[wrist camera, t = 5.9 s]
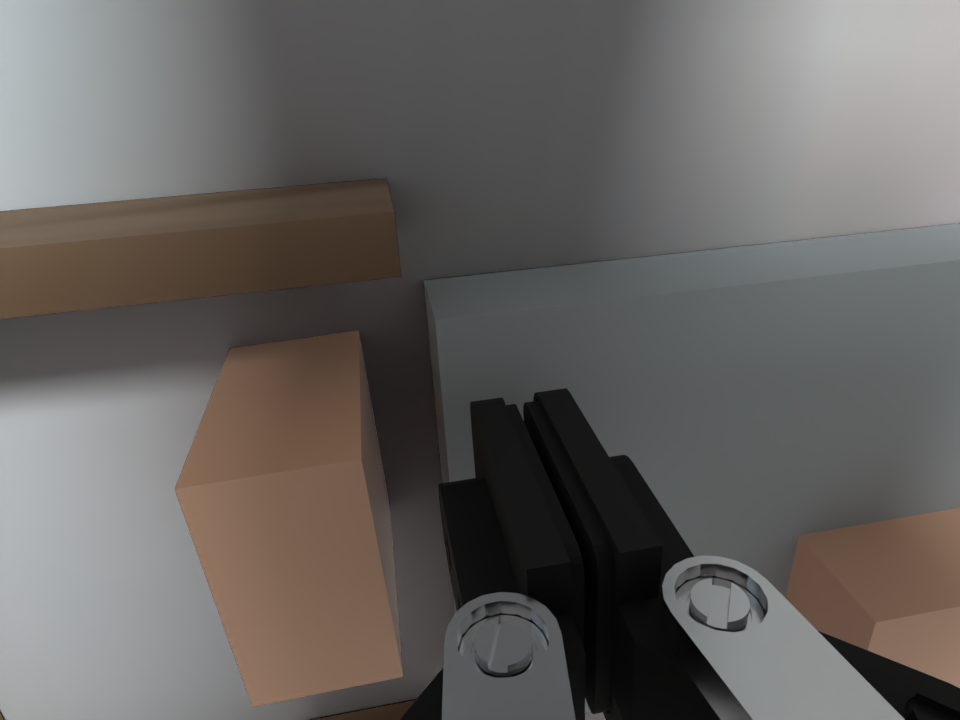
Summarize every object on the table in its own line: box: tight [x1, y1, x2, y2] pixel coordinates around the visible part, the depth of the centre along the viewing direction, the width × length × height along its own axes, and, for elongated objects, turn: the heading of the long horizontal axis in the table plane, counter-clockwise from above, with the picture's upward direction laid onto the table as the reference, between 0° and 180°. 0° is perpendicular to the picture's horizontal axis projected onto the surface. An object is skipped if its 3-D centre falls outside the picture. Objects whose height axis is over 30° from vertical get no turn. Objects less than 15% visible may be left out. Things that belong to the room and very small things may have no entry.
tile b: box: [785, 508, 960, 688], centre depth 15 cm, size 4×4×2 cm
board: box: [424, 223, 960, 714], centre depth 16 cm, size 11×15×2 cm
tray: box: [0, 178, 416, 720], centre depth 13 cm, size 15×12×2 cm
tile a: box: [175, 330, 403, 707], centre depth 12 cm, size 4×4×2 cm
